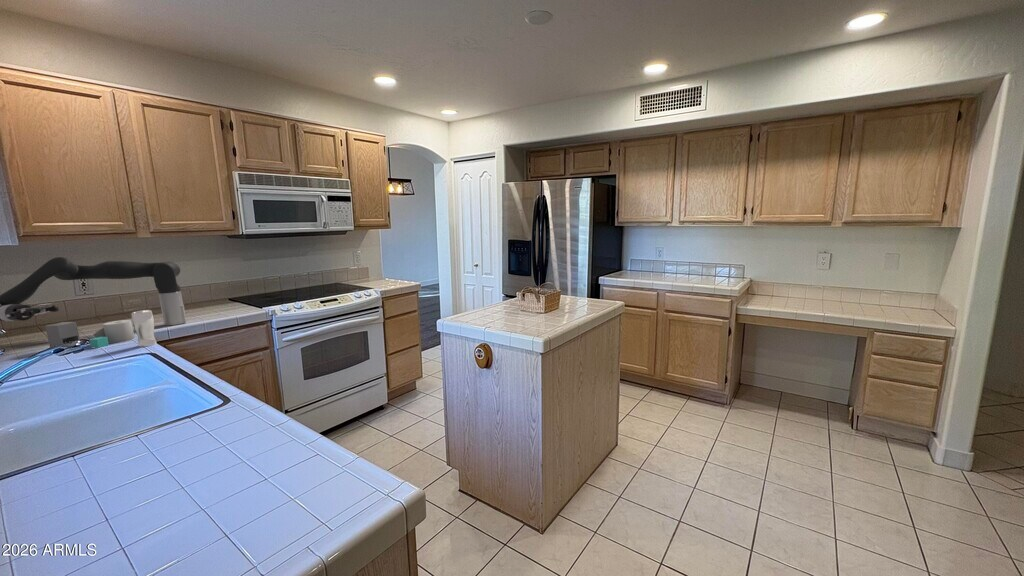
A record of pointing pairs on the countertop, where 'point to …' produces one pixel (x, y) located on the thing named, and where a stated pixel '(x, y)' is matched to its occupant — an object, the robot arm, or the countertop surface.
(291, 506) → the countertop surface
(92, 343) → the block
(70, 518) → the countertop surface
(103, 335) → the toilet tissue
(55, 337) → the cover
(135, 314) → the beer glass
